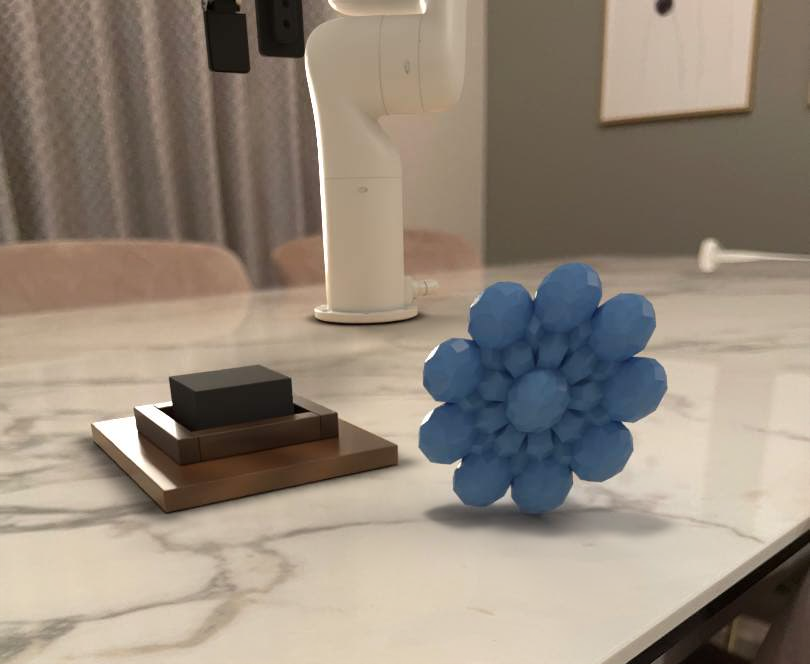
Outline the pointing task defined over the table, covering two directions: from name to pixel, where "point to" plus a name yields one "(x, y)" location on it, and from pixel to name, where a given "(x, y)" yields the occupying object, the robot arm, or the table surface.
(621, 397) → the blue flower ornament
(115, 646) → the table surface
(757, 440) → the table surface
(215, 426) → the dark grey block
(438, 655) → the table surface
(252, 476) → the wooden socket base
